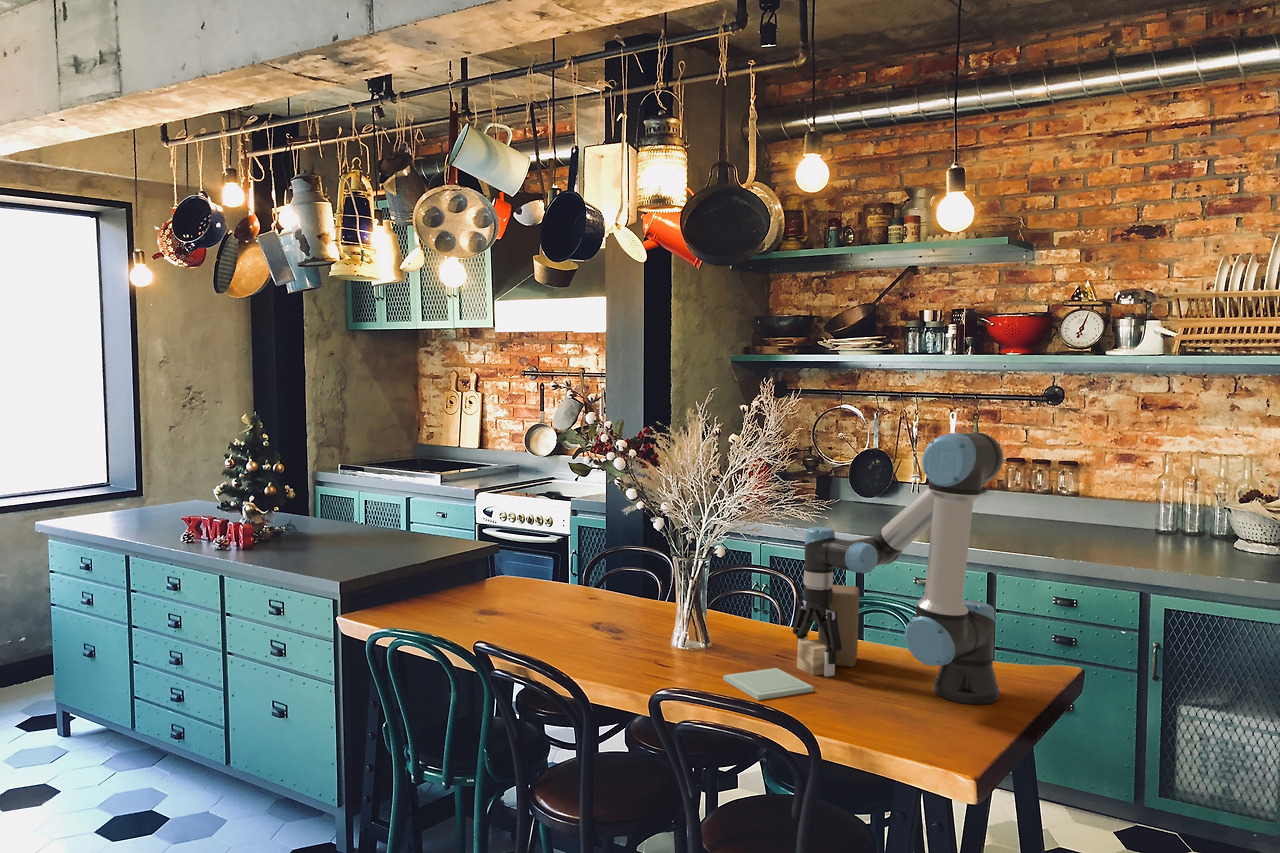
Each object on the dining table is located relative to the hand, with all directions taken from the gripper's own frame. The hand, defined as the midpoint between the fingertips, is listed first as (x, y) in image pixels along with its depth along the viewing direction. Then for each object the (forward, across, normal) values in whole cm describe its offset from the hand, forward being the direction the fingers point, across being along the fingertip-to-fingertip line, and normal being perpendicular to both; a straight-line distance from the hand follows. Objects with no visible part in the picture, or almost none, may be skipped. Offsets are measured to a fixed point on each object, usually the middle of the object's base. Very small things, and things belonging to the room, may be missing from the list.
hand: (815, 669), depth 247 cm
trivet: (0, -6, +19) cm, 20 cm away
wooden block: (0, +4, -10) cm, 11 cm away
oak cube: (0, 0, 0) cm, 0 cm away
